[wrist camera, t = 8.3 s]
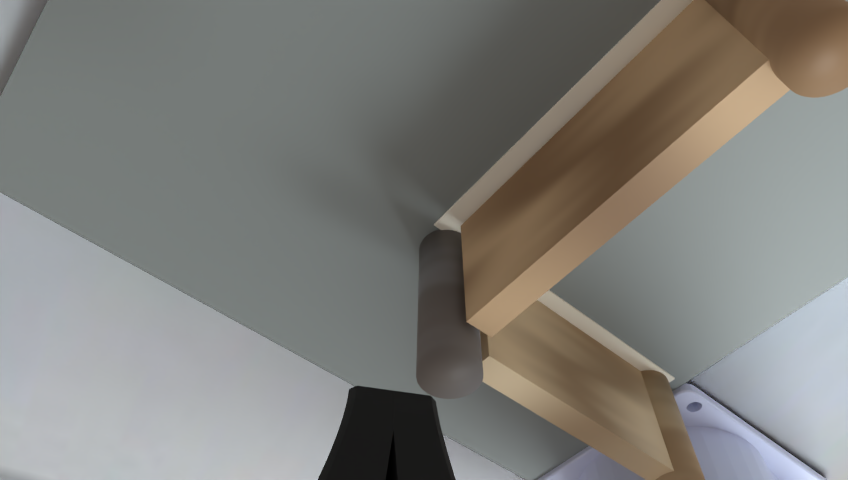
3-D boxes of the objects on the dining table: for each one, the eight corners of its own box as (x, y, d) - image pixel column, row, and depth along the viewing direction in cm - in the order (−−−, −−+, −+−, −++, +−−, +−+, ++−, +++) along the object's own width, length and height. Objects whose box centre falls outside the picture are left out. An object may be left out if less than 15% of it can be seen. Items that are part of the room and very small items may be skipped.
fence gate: (491, 245, 20) (505, 360, 16) (449, 216, 19) (454, 328, 16) (785, -25, 15) (898, 47, 12) (741, -73, 15) (845, -13, 11)
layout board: (1104, 95, 18) (1119, 102, 17) (530, 474, 27) (531, 484, 27) (468, -837, 10) (469, -861, 9) (-29, 164, 19) (-38, 172, 19)
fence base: (677, 383, 24) (729, 515, 19) (641, 406, 24) (683, 539, 20) (443, 219, 20) (446, 341, 16) (408, 253, 20) (402, 379, 16)
